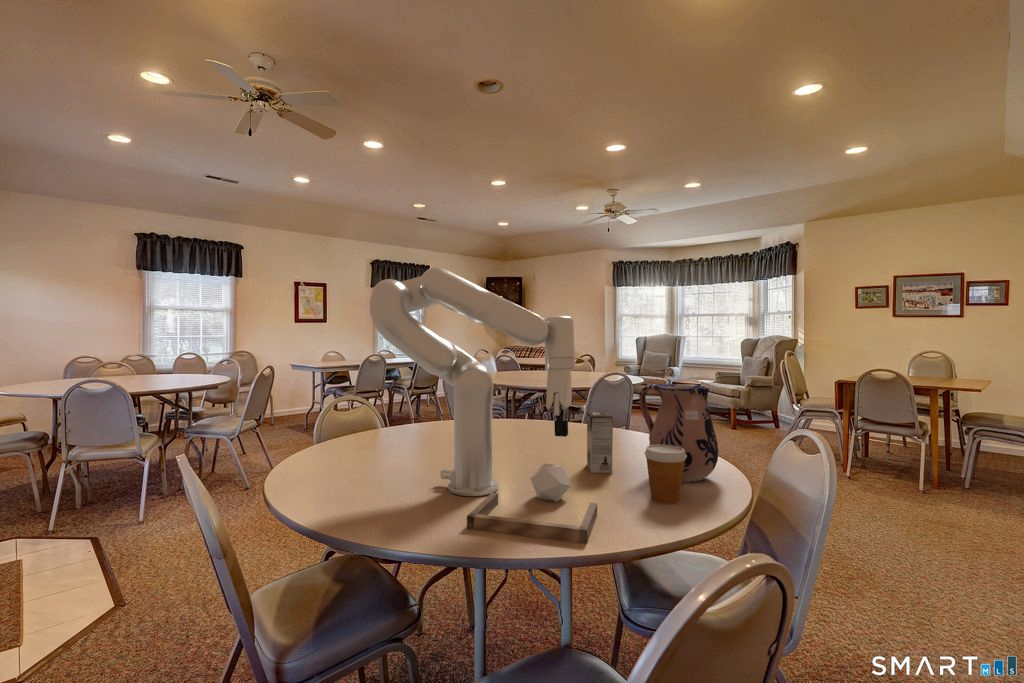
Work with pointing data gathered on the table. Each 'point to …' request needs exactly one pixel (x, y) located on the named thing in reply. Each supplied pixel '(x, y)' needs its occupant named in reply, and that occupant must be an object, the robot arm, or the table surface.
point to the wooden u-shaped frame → (530, 523)
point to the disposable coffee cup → (665, 472)
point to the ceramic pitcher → (684, 426)
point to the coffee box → (599, 441)
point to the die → (550, 482)
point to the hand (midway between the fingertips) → (561, 435)
